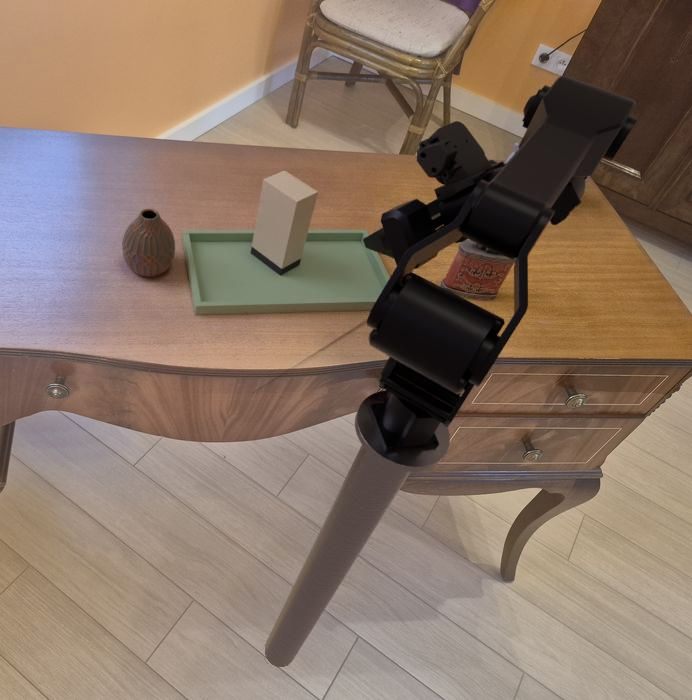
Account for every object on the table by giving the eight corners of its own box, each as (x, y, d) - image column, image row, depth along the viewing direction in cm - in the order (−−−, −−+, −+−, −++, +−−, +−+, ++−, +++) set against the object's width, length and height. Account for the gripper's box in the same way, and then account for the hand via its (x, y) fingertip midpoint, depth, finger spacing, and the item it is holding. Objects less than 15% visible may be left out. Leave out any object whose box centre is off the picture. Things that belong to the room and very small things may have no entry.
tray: (397, 311, 83) (402, 300, 81) (194, 317, 78) (196, 306, 76) (362, 240, 93) (366, 229, 92) (182, 241, 88) (182, 229, 87)
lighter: (493, 287, 89) (525, 230, 82) (498, 302, 86) (531, 246, 79) (438, 279, 89) (465, 221, 81) (441, 294, 86) (470, 237, 79)
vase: (113, 273, 82) (111, 219, 75) (138, 246, 86) (138, 192, 80) (159, 291, 80) (161, 237, 74) (182, 262, 85) (186, 208, 78)
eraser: (299, 265, 86) (318, 191, 78) (280, 275, 84) (297, 201, 76) (269, 243, 89) (284, 170, 80) (250, 253, 87) (263, 179, 78)
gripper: (537, 91, 62) (413, 142, 75) (431, 137, 52) (311, 187, 66) (567, 195, 64) (442, 228, 77) (471, 258, 55) (347, 283, 68)
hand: (389, 229), depth 72 cm, fingers open, 9 cm apart
